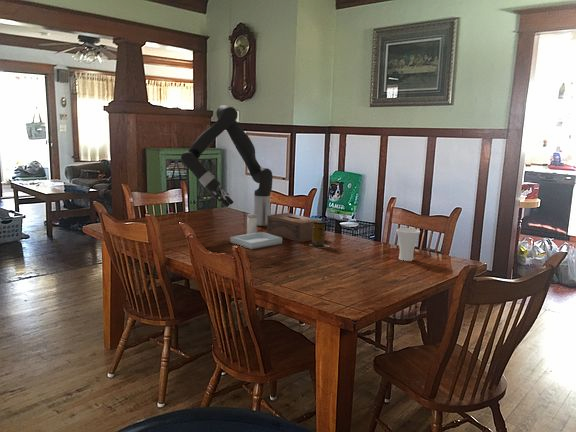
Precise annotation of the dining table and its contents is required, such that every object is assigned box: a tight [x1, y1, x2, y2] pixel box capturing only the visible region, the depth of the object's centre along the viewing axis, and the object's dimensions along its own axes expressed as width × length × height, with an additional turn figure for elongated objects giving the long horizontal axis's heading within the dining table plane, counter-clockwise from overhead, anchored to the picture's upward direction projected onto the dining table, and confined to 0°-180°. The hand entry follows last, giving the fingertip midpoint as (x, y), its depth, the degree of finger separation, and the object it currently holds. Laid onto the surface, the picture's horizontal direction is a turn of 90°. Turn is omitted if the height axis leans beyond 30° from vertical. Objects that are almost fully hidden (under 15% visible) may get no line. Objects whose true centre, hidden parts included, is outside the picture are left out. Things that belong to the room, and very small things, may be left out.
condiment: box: [308, 220, 331, 249], centre depth 244 cm, size 7×8×12 cm
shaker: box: [246, 213, 258, 234], centre depth 263 cm, size 5×5×11 cm
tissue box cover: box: [266, 212, 322, 243], centre depth 264 cm, size 26×14×10 cm, turn 43°
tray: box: [230, 231, 283, 250], centre depth 245 cm, size 20×16×3 cm
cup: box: [396, 227, 421, 262], centre depth 224 cm, size 10×10×14 cm
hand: (230, 204), depth 262 cm, fingers open, 8 cm apart
